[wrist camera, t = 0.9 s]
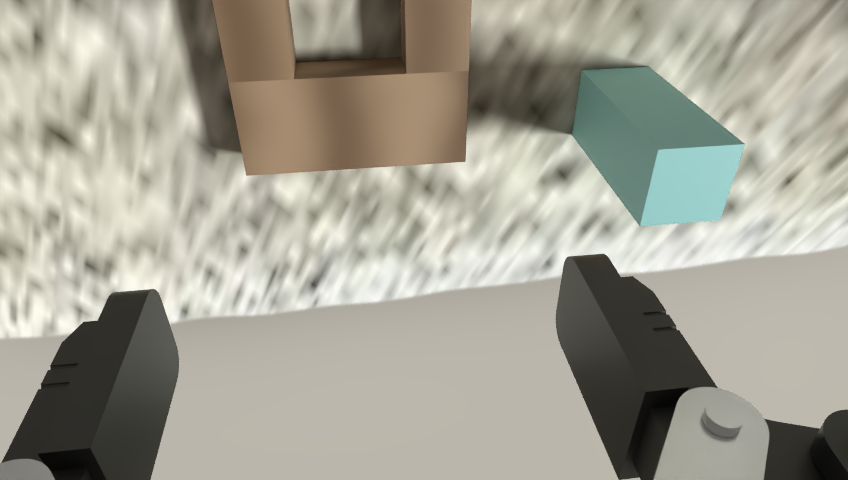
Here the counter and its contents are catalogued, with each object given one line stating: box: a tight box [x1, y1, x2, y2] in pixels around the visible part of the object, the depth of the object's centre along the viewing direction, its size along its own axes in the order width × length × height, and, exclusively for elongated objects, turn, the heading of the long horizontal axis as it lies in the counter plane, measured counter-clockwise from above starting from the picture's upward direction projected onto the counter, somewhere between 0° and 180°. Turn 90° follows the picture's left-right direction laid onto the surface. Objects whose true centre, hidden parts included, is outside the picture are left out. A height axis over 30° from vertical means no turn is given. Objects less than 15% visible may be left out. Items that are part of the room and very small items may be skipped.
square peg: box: [572, 67, 745, 226], centre depth 32 cm, size 4×4×10 cm
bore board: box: [212, 0, 472, 176], centre depth 30 cm, size 12×16×2 cm
